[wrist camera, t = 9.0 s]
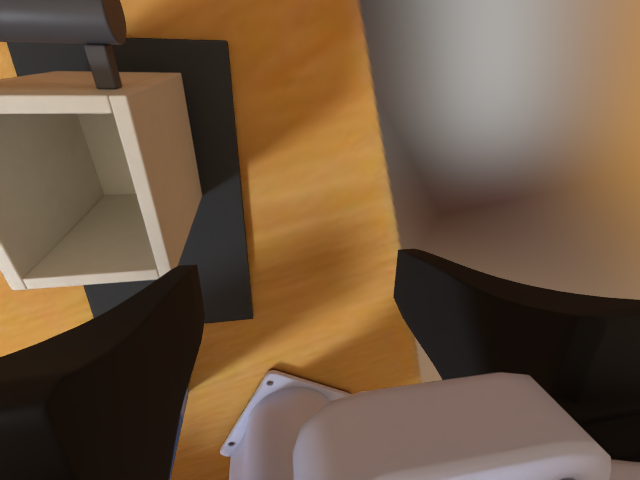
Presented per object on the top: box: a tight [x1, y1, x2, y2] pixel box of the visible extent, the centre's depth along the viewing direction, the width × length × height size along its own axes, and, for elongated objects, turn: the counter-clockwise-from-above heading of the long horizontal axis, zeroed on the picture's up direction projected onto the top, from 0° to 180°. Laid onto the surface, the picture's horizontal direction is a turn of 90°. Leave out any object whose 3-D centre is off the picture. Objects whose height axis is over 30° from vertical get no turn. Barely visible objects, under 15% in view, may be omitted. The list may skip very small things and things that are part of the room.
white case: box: [0, 0, 202, 290], centre depth 13 cm, size 8×6×9 cm
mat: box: [7, 38, 253, 324], centre depth 19 cm, size 17×10×1 cm, turn 0°
